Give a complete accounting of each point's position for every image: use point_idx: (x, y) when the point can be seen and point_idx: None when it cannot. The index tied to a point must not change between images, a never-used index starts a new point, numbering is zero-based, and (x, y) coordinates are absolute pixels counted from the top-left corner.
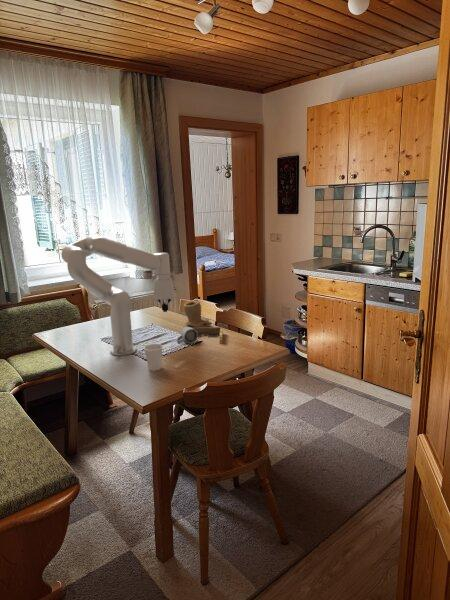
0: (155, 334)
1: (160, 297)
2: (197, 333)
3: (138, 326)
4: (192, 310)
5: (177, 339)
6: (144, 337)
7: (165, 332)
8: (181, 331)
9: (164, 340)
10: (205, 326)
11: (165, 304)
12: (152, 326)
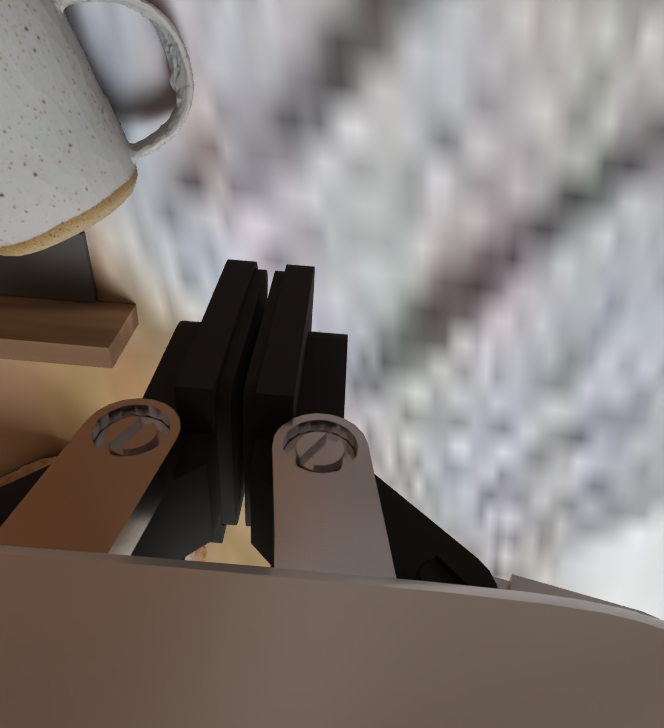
0: (467, 371)
1: (350, 683)
2: None
3: (608, 568)
4: None
5: (182, 93)
6: (590, 299)
7: (368, 410)
8: (113, 187)
9: (361, 165)
10: (12, 476)
11: (199, 421)
12: (489, 553)
